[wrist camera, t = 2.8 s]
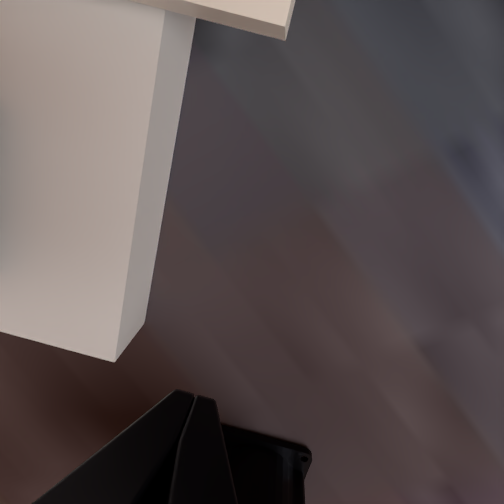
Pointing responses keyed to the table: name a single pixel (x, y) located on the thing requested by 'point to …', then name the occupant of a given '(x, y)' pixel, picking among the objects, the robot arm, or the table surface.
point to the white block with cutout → (85, 165)
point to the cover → (236, 13)
